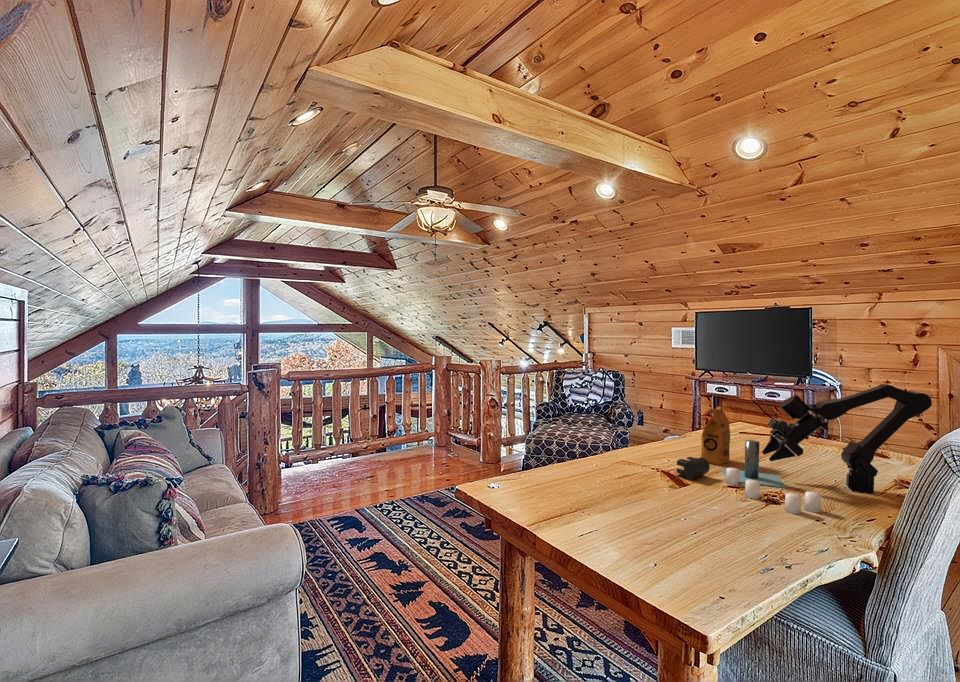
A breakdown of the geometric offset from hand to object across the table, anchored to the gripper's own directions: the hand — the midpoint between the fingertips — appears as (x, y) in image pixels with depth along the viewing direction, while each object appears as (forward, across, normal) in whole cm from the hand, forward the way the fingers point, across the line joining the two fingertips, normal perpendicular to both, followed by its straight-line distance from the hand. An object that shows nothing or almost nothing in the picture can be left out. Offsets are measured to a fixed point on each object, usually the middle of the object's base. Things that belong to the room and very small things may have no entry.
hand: (766, 456), depth 167 cm
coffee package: (+16, -20, -3) cm, 26 cm away
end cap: (+24, +6, -11) cm, 27 cm away
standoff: (+9, 0, +2) cm, 9 cm away
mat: (+9, 0, +3) cm, 10 cm away
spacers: (+9, +18, +3) cm, 21 cm away
